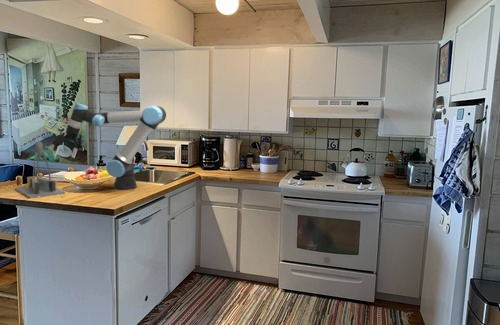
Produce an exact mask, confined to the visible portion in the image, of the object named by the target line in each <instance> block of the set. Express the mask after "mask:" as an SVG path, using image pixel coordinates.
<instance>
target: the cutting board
mask: <svg viewBox="0 0 500 325" xmlns="http://www.w3.org/2000/svg"><path fill="white" fill-rule="evenodd" d="M15 191H17V192H18V191H19V192H18V193H20V192H21V193H20V194H22V193H23V194H25V195H26V196H25V195H24V196H25V197H27V196H28V197H30V198H29V199H32V198H31V197H37V198H39V197H38V196H44V197H48V196H47V195H52V196H57V195H56V194H59V195H65V194H66V191H64V190H62V189H60V188H58V187H56V191H50V190H47V189H43V188H39V193H35V191H34V190H33V188H28V186H22V187H16V188H15ZM64 193H65V194H64ZM23 194H22V195H23ZM28 197H27V198H28Z"/></svg>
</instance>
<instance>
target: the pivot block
mask: <svg viewBox="0 0 500 325" xmlns="http://www.w3.org/2000/svg"><path fill="white" fill-rule="evenodd" d="M32 178H35V179H36V180H37V178H42V176H40V175H39V176H38V175H34V176H33V175H32V176H27V177H26V180H27V187H28V188H32Z"/></svg>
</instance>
